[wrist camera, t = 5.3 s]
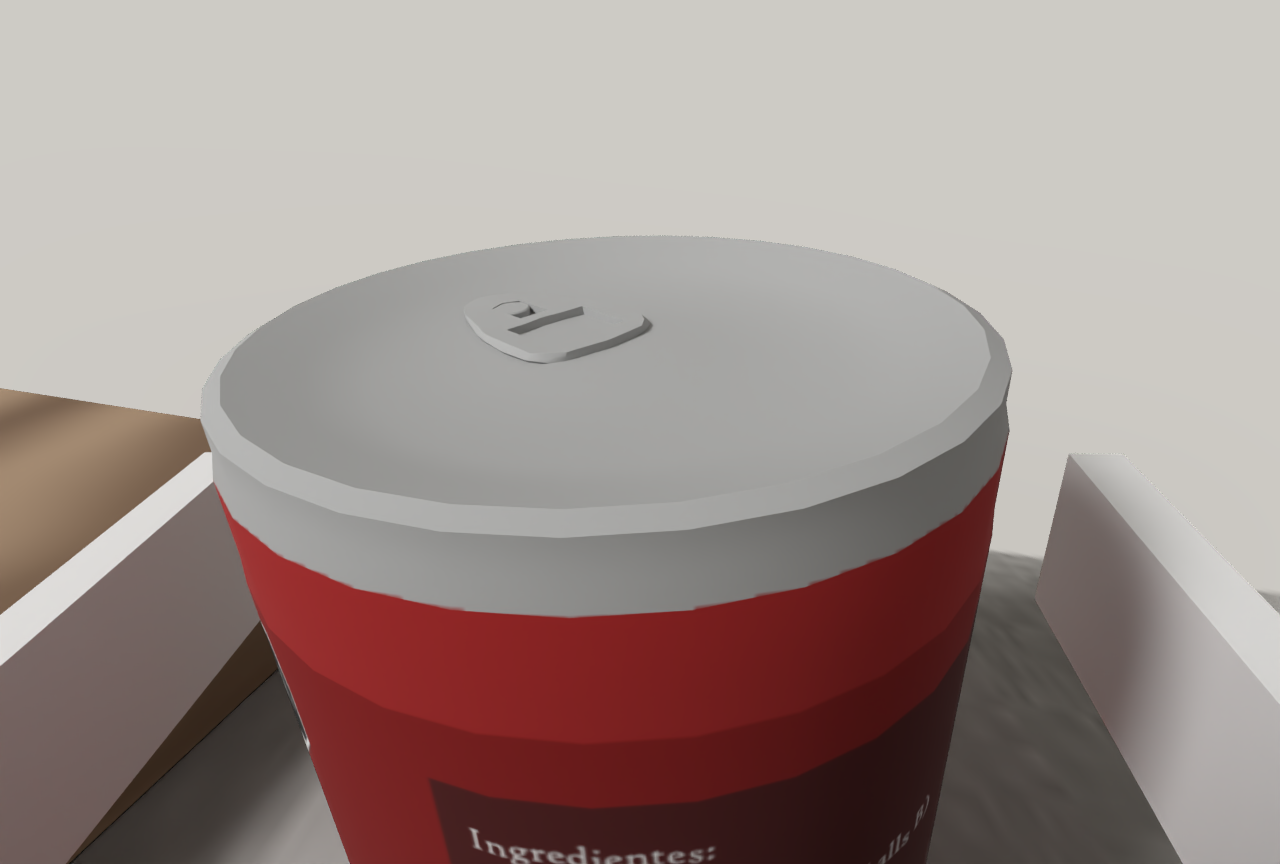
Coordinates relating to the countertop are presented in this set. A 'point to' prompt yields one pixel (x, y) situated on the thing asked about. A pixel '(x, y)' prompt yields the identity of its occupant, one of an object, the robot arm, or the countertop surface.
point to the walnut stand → (102, 528)
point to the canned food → (620, 548)
